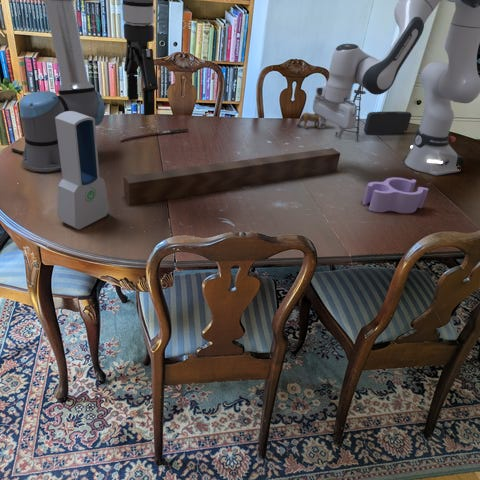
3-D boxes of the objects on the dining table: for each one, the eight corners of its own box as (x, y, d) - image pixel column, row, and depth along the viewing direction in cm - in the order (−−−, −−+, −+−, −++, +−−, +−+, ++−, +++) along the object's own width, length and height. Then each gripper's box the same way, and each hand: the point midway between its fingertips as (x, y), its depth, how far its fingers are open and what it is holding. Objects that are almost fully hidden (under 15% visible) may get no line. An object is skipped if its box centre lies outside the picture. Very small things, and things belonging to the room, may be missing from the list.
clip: (376, 216, 149) (381, 197, 146) (356, 198, 159) (361, 179, 155) (427, 211, 156) (433, 192, 152) (405, 194, 165) (410, 176, 162)
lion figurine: (321, 124, 222) (325, 105, 217) (326, 128, 218) (330, 109, 213) (293, 125, 217) (296, 106, 212) (298, 129, 213) (302, 110, 208)
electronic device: (76, 231, 126) (63, 124, 110) (57, 222, 129) (42, 116, 113) (110, 214, 135) (103, 112, 119) (91, 206, 138) (82, 105, 122)
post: (129, 205, 141) (128, 183, 137) (124, 198, 145) (123, 176, 141) (336, 171, 177) (340, 153, 173) (328, 166, 181) (332, 147, 177)
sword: (184, 128, 200) (184, 125, 199) (188, 130, 198) (188, 128, 197) (117, 141, 184) (116, 138, 183) (120, 143, 182) (120, 140, 181)
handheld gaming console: (403, 131, 225) (409, 110, 219) (406, 133, 222) (412, 112, 217) (362, 132, 217) (367, 111, 212) (365, 134, 215) (370, 113, 210)
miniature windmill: (357, 141, 207) (374, 71, 190) (338, 138, 208) (353, 69, 191) (357, 134, 214) (373, 67, 198) (339, 132, 215) (353, 64, 199)
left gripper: (171, 32, 111) (170, 120, 122) (137, 15, 128) (139, 93, 140) (140, 32, 107) (142, 122, 119) (110, 15, 125) (114, 94, 136)
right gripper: (364, 102, 155) (355, 142, 163) (327, 85, 170) (320, 122, 177) (350, 104, 152) (341, 144, 160) (313, 86, 167) (306, 124, 174)
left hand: (141, 107), depth 129 cm, fingers open, 13 cm apart
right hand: (329, 132), depth 169 cm, fingers open, 8 cm apart
